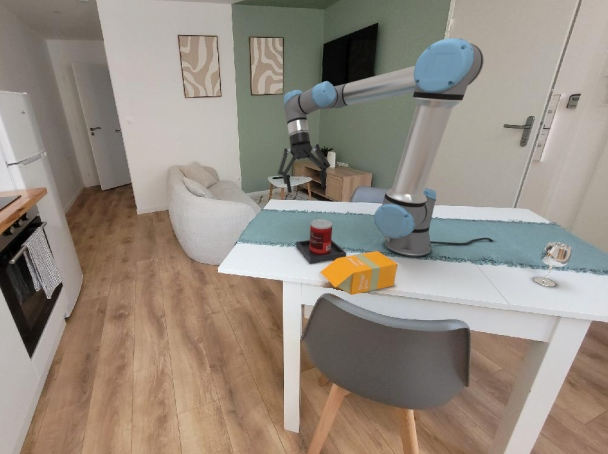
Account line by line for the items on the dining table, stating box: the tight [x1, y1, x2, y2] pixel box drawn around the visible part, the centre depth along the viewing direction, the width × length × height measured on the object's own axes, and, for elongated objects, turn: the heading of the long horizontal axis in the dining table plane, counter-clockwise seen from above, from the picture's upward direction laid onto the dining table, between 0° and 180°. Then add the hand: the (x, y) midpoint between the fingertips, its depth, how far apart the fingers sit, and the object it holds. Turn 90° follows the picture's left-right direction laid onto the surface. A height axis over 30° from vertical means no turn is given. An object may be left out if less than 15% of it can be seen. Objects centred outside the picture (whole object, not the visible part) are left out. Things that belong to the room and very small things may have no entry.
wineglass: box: [533, 241, 573, 287], centre depth 83 cm, size 6×6×12 cm
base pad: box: [295, 239, 347, 265], centre depth 108 cm, size 14×14×2 cm
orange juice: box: [319, 250, 398, 296], centre depth 87 cm, size 8×9×20 cm
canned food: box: [309, 218, 333, 255], centre depth 106 cm, size 8×8×11 cm
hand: (306, 189), depth 111 cm, fingers open, 13 cm apart
